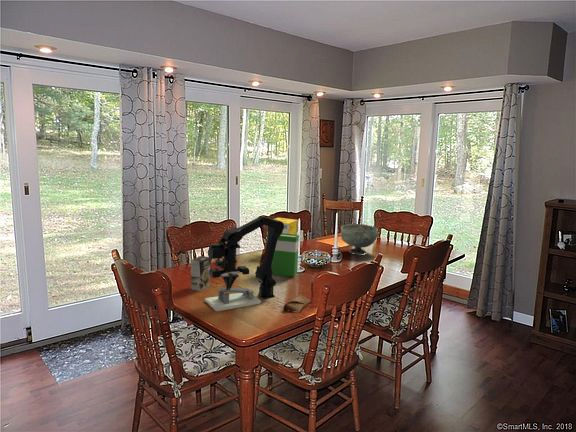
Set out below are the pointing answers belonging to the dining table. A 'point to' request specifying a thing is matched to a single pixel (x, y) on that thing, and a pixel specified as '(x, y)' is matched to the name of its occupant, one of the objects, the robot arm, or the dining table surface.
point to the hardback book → (286, 255)
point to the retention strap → (235, 290)
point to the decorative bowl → (358, 236)
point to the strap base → (232, 300)
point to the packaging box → (288, 225)
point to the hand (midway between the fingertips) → (228, 288)
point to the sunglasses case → (296, 303)
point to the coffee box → (200, 273)
